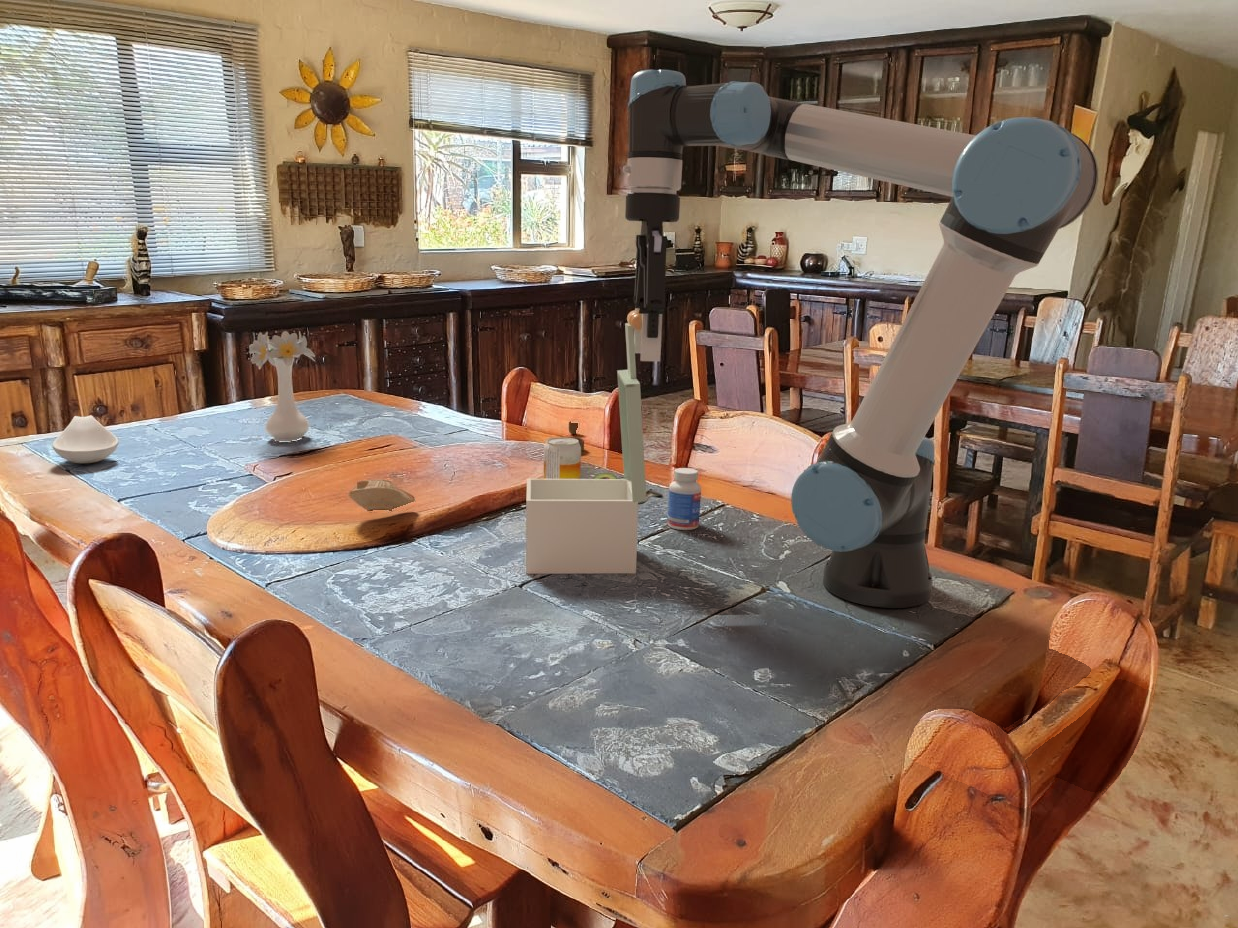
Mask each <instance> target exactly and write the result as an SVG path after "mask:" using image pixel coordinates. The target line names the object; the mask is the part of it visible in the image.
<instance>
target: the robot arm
mask: <svg viewBox="0 0 1238 928" xmlns="http://www.w3.org/2000/svg"><path fill="white" fill-rule="evenodd" d="M686 83H687V82H686V76H685V75H684V74H683V73H682V72H680V71H676V70H672V69H671V70H670V69H644V70H640V71H637V72H636V73H635V74H634V75H633V76H632V77H631V81H630V90H629V100H628V101H629V102H628V103H627V111H628V148H627V149H628V151H627V165H624V166H623V167H622V172H623V173H624V174H627V176H626V187H627V189H628V190H630V192H629V193H627V194H626V196H625V215H624V217H625V220H627V221H630V222H641V225H640V234H636V235H635V247H636V255H635V277H634V278H635V279H634V294H633V298H632V299H633V302H634V306H635V308H634V310H637V311H639V314H642V330H641V331H637V330H635V329H634V345H635V354H640V359H639V360H640V362H661V355H662V352H661V351H662V329H663V328H662V327H663V313H664V311H665V310H666V277H667V275H666V274H667V271H666V269H667V267H666V266H667V249H668V246H667V245H668V243H669V239H668V236H667V235H664V225H663V224H664V223H677V222H678V221H679V220H680V212H681V211H680V206H681V196H680V195H679V194H677V191H680V190H681V189H682V173H683V172H682V171H683V159H682V158H683V150H684V149H683V148H684V147H692V146H693V147H697V146H698V147H699V146H700V147H707V146H708V147H709V146H711V147H713V146H715V147H724V148H728V149H735V150H741V151H747V152H751V153H755V154H760V155H763V156H764V155H765V156H767V157H773V158H779V159H783V160H787V161H788V160H789V161H795V162H797V163H802V164H807V165H811V166H815V167H820V168H825V169H827V170H828V169H829V170H832V171H838V172H841V173H846V174H850V175H853V176H854V175H855V176H860V177H864V178H868V179H872V180H876V181H880V182H885V183H890V184H894V185H899V186H902V187H908V188H912V189H914V190H915V189H917V190H920V191H921V190H922V191H925V192H930V193H934V194H937V195H943V196H947V197H950V198H951V199H950V201H949V203H948V205H947V207H946V209H945V211H944V212H943V215H942V217H941V219H940V221H939V223H938V226H939V229H940V231H941V234H942V237H943V238H942V239H943V245H942V247H941V248H940V250H939V251H938V254H937V256H936V258H935V260H934V262H933V264H932V266H931V268H930V270H929V271H928V274H927V275H926V276H925V277H926V278H925V279H924V281H923V283H922V285H921V287H920V289H919V290H918V293H917V294H916V296H915V298H914V300H913V303H912V305H911V306H910V308H909V310H908V312H907V314H906V315H905V317H904V320H903V322H902V323H901V326H900V328H899V330H898V331H897V332H896V333H897V334H896V335H895V337H894V339H893V341H892V342H891V345H890V347H889V348H888V351H887V352H886V354H885V357H884V359H883V360H882V362H881V364H880V366H879V367H878V370H877V371H876V373H875V375H874V377H873V380H872V381H871V383H870V386H869V387H868V389H867V391H866V393H865V395H864V397H863V398H862V401H861V403H860V404H859V407H858V408H857V409H856V412H855V414H854V416H853V419H852V420H851V421H850V422H847V423H844V424H840V425H837V426H835V427H834V429H833V431H832V432H831V434H830V436H829V438H828V440H827V441H826V444H825V446H824V448H823V450H822V451H821V453H820V455H819V458H818V459H817V461H816V462H815V463H813V464H810V465H809V466H807V468H805V469H804V470H803V472H802V473H800V475H799V476H798V477H797V478H796V480H795V482H794V484H793V486H792V490H791V494H790V495H791V497H790V504H791V510H792V513H793V515H794V517H795V520H796V521H795V522H796V523H797V525H798V528H800V531H802V533H803V534H804V535H805V536H806V537H807V538H808V539H809V540H810V541H812V542H813V543H814V544H816V545H817V546H819V547H821V548H823V549H826V550H829V551H831V554H830V557H829V559H828V560H827V561H826V563H825V564H824V568H823V575H822V576H823V578H822V584H823V586H824V588H825V589H827V591H829V592H830V594H833V595H834V596H837V597H839V598H840V599H843V600H846V601H849V602H851V603H856V604H860V605H863V606H868V607H869V606H870V607H876V608H884V609H885V608H888V609H902V608H903V609H904V608H912V607H918V606H920V605H923V604H926V603H927V602H929V601H930V599H931V597H932V590H933V585H934V584H933V581H934V580H933V576H932V574H931V572H930V565H929V558H928V553H927V549H926V543H925V540H926V530H927V529H926V528H927V522H928V514H929V507H930V506H929V505H930V497H931V488H932V480H933V472H934V466H935V464H936V459H935V449H936V448H935V447H936V446H935V444H934V442H933V441H932V440H931V439H930V438H928V437H926V434H927V433H928V431H929V430H930V427H931V425H932V424H933V423H934V421H935V419H936V417H937V416H938V414H939V412H940V410H941V408H942V406H943V405H944V403H945V401H946V399H947V398H948V396H949V394H950V392H951V391H952V389H953V387H954V385H955V384H956V381H957V380H958V378H959V376H960V375H961V373H962V372H963V370H964V367H965V366H966V364H967V362H968V361H969V359H970V358H971V355H972V354H973V352H974V350H975V348H976V347H977V345H978V342H980V340H981V337H982V336H983V334H984V333H985V330H986V329H987V327H988V325H989V323H990V321H991V319H992V318H993V316H994V315H995V313H996V311H997V309H998V307H999V306H1000V304H1001V302H1002V300H1003V299H1004V297H1005V295H1006V294H1007V291H1008V289H1009V288H1010V286H1011V284H1012V283H1013V281H1014V279H1015V277H1016V276H1017V275H1018V274H1020V273H1023V272H1025V271H1027V270H1030V269H1033V268H1035V267H1037V266H1038V265H1039V264H1040V262H1041V260H1042V259H1043V257H1044V255H1045V253H1046V251H1047V250H1048V248H1049V246H1050V244H1052V242H1053V240H1054V238H1055V236H1056V234H1057V233H1058V231H1059V230H1061V229H1062V228H1063V229H1064V228H1065V227H1067V226H1068V225H1071V224H1072V223H1074V222H1075V221H1076V220H1077V219H1078V218H1079V217H1080V216H1081V215H1083V214H1084V212H1085V211H1086V210H1087V209H1088V207H1089V206H1090V205H1091V203H1092V201H1093V199H1094V197H1095V195H1096V192H1097V187H1098V183H1099V165H1098V161H1097V159H1096V155H1095V154H1094V152H1093V150H1092V148H1091V147H1090V146H1089V144H1087V142H1085V141H1084V140H1083V139H1082V138H1080V137H1079V136H1077V134H1074V133H1072V132H1070V131H1068V130H1067V129H1066V128H1065V127H1063V126H1062V125H1059V124H1057V123H1055V122H1054V121H1052V120H1047V119H1042V118H1039V117H1038V116H1037V117H1036V116H1034V117H1031V116H1021V117H1020V116H1019V117H1018V116H1016V117H1011V118H1007V119H1003V120H1001V121H997V122H995V123H992V124H991V125H989V126H987V127H986V128H984V129H982V130H981V131H980V132H979V133H978V134H969V133H964V132H959V131H955V130H954V131H953V130H949V129H944V128H943V129H942V128H938V127H932V126H927V125H921V124H915V123H912V122H906V121H899V120H895V119H890V118H884V117H878V116H875V115H873V116H872V115H867V114H862V113H857V112H851V111H846V110H841V109H835V108H831V107H825V106H819V105H813V104H808V103H802V102H799V101H798V102H797V101H795V100H794V101H793V100H788V99H783V98H779V97H778V98H777V97H773V96H769V95H768V93H767V92H766V91H765V89H764V86H762V84H760V83H757V82H755V81H754V82H752V81H751V82H750V81H749V82H747V81H746V82H745V81H744V82H741V81H738V80H734V81H733V80H732V81H729V82H724V83H713V84H702V85H687V84H686Z"/></svg>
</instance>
